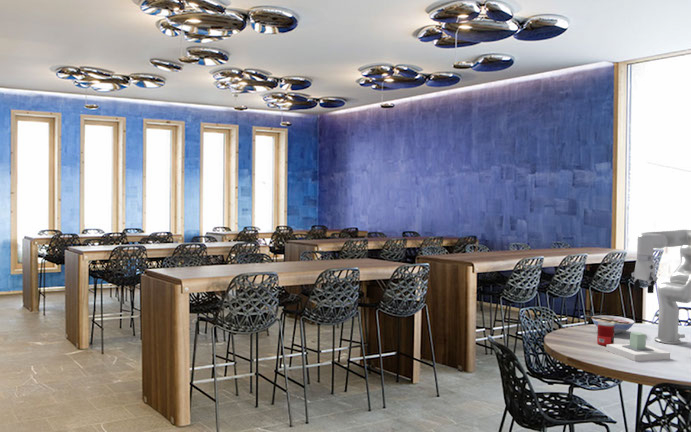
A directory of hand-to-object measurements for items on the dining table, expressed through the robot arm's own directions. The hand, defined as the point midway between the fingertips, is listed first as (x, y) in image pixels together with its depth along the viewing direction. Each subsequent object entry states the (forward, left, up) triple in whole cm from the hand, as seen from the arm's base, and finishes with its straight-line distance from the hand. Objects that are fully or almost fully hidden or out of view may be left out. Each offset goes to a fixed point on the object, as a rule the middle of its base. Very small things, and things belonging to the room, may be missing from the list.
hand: (643, 291), depth 325 cm
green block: (+15, +15, -25) cm, 33 cm away
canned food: (+17, -6, -28) cm, 34 cm away
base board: (+15, +15, -28) cm, 35 cm away
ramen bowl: (-7, -31, -29) cm, 43 cm away
